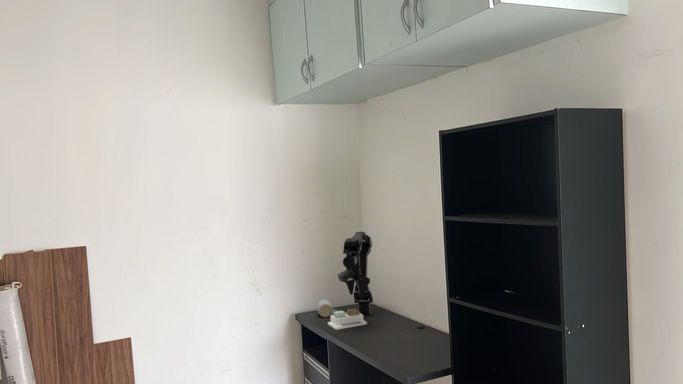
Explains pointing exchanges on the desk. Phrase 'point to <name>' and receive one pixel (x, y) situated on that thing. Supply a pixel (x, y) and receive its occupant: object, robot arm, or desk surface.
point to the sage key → (339, 314)
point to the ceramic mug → (325, 308)
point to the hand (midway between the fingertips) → (356, 296)
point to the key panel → (346, 321)
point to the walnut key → (353, 312)
